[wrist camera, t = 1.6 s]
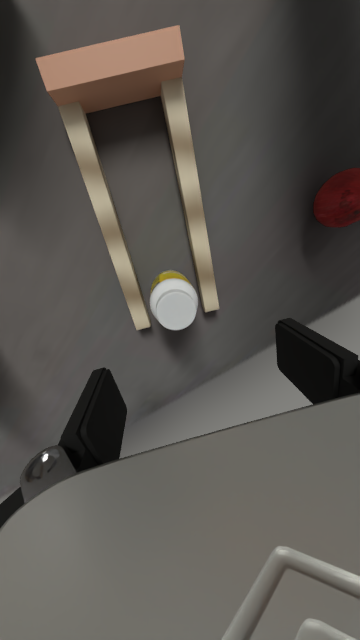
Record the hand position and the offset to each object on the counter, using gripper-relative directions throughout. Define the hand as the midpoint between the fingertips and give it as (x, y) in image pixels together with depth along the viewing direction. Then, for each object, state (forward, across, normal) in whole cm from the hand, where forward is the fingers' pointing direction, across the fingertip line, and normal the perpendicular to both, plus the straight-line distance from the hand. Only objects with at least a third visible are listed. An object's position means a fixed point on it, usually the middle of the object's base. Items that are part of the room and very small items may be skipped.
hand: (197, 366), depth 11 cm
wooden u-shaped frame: (+19, 0, -9) cm, 21 cm away
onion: (+19, -22, -6) cm, 30 cm away
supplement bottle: (+19, 0, 0) cm, 19 cm away
